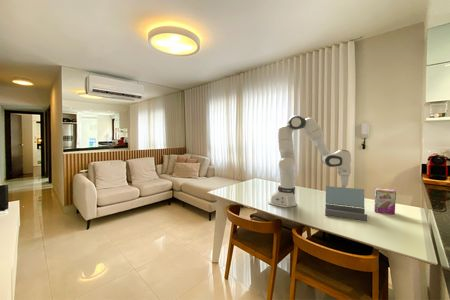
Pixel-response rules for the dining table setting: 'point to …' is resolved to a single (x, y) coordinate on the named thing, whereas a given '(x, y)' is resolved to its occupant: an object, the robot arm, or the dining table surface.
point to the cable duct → (346, 212)
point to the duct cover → (345, 196)
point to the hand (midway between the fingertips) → (343, 189)
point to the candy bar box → (385, 201)
